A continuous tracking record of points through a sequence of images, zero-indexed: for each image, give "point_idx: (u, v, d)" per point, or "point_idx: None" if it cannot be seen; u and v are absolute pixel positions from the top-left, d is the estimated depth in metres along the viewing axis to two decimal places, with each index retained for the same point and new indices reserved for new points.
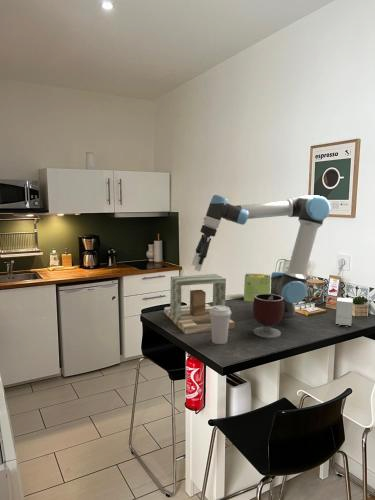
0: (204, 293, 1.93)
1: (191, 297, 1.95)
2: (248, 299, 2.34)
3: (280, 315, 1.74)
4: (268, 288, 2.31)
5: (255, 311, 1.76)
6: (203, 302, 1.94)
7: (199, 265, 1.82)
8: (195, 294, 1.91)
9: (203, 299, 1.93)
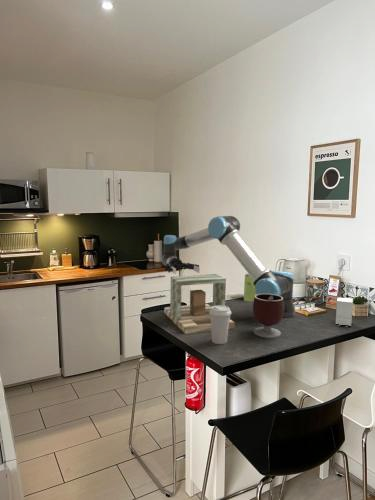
0: (204, 293, 1.93)
1: (191, 297, 1.95)
2: (248, 299, 2.34)
3: (280, 315, 1.74)
4: None
5: (255, 311, 1.76)
6: (203, 302, 1.94)
7: (173, 270, 2.09)
8: (195, 294, 1.91)
9: (203, 299, 1.93)
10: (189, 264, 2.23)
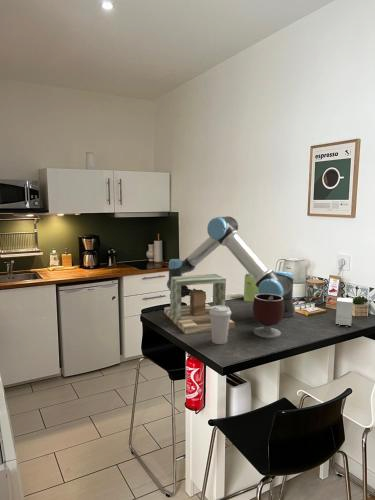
0: (204, 293, 1.93)
1: (191, 297, 1.95)
2: (248, 299, 2.34)
3: (280, 315, 1.74)
4: None
5: (255, 311, 1.76)
6: (203, 302, 1.94)
7: None
8: (195, 294, 1.91)
9: (203, 299, 1.93)
10: None
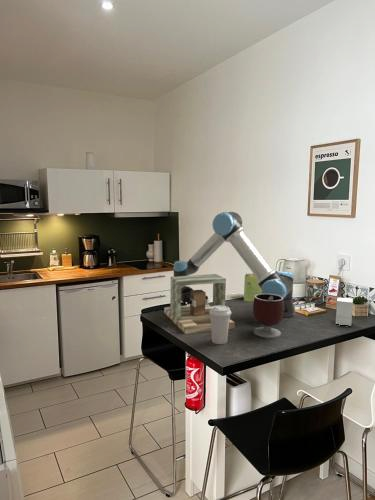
0: (204, 293, 1.93)
1: (191, 297, 1.95)
2: (248, 299, 2.34)
3: (280, 315, 1.74)
4: None
5: (255, 311, 1.76)
6: (203, 302, 1.94)
7: (192, 302, 1.92)
8: (195, 294, 1.91)
9: (203, 299, 1.93)
10: None
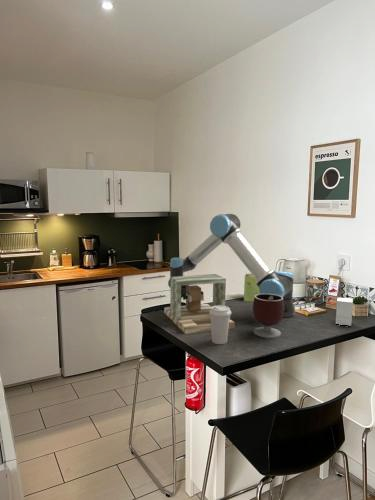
0: (200, 288, 1.98)
1: (187, 292, 2.00)
2: (248, 299, 2.34)
3: (280, 315, 1.74)
4: None
5: (255, 311, 1.76)
6: (199, 297, 1.98)
7: (188, 297, 1.97)
8: (191, 289, 1.96)
9: (199, 294, 1.98)
10: None
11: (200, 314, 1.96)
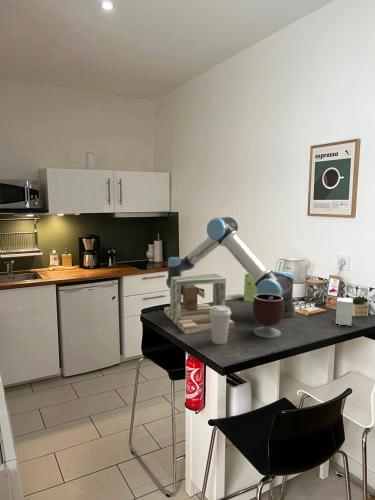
0: (196, 288, 2.03)
1: (184, 292, 2.06)
2: (248, 299, 2.34)
3: (280, 315, 1.74)
4: None
5: (255, 311, 1.76)
6: (195, 297, 2.04)
7: None
8: (187, 289, 2.02)
9: (195, 294, 2.04)
10: None
11: (200, 314, 1.96)
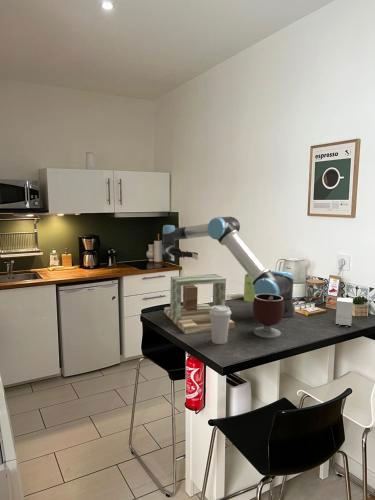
0: (196, 288, 2.03)
1: (184, 292, 2.06)
2: (248, 299, 2.34)
3: (280, 315, 1.74)
4: None
5: (255, 311, 1.76)
6: (195, 297, 2.04)
7: (171, 257, 2.11)
8: (187, 289, 2.02)
9: (195, 294, 2.04)
10: (188, 252, 2.25)
11: (200, 314, 1.96)
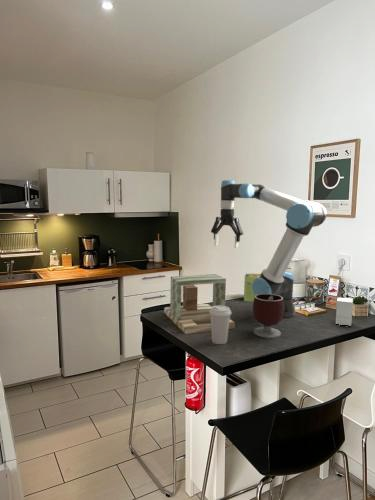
0: (196, 288, 2.03)
1: (184, 292, 2.06)
2: (248, 299, 2.34)
3: (280, 315, 1.74)
4: None
5: (255, 311, 1.76)
6: (195, 297, 2.04)
7: None
8: (187, 289, 2.02)
9: (195, 294, 2.04)
10: None
11: (200, 314, 1.96)
